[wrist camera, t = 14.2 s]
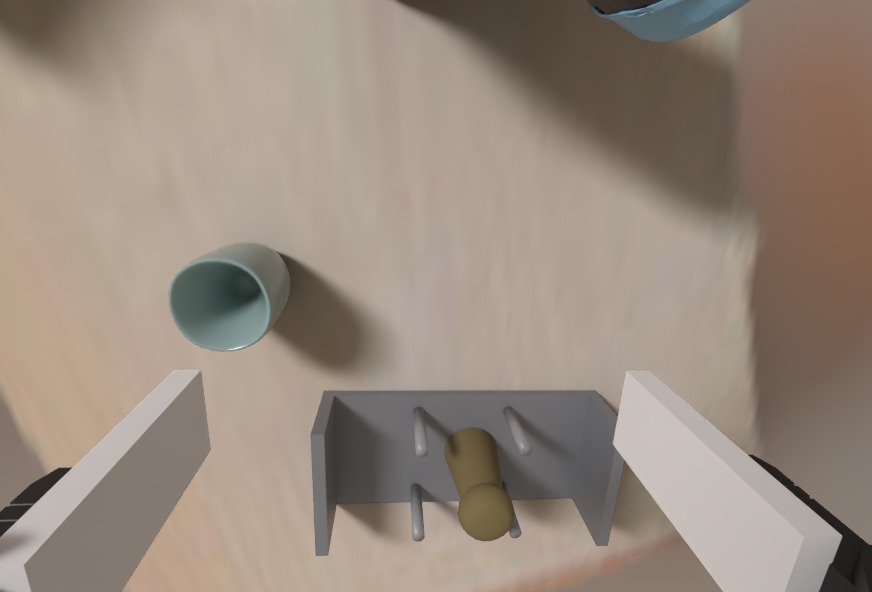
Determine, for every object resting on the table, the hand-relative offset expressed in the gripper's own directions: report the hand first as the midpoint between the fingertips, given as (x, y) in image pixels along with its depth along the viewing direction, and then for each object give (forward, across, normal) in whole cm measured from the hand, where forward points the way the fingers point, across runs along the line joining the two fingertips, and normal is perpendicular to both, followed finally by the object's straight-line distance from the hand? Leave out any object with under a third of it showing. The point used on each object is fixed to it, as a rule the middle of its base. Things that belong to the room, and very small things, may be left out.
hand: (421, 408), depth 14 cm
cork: (+31, +8, -24) cm, 40 cm away
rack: (+32, +7, -24) cm, 40 cm away
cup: (+32, -14, -4) cm, 35 cm away
